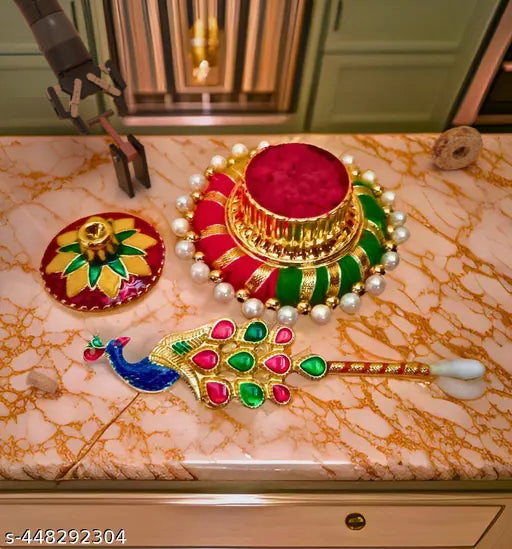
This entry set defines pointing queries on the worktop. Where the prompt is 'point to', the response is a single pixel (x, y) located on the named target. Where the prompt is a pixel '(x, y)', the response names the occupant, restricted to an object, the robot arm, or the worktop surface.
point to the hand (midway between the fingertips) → (106, 125)
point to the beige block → (47, 382)
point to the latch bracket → (123, 167)
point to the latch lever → (114, 134)
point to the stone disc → (457, 148)
